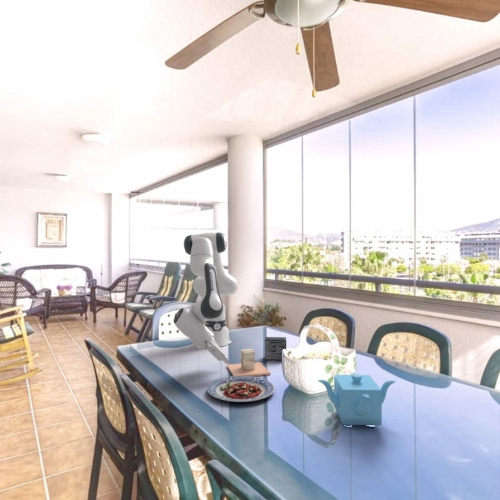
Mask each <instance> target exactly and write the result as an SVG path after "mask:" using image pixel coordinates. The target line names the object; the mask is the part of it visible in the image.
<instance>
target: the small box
mask: <svg viewBox="0 0 500 500" xmlns="http://www.w3.org/2000/svg"><path fill="white" fill-rule="evenodd" d="M264 342H265V343H264V355H265V357H264V360H265V361H266V360H267V362H268V361H273V362H275V361H278V362H282V361H281V360H282V350H283V349H286V350H287V337H286V336H285V337H284V336H283V337H282V336H265V338H264Z"/></svg>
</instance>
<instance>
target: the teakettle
mask: <svg viewBox="0 0 500 500" xmlns="http://www.w3.org/2000/svg"><path fill="white" fill-rule="evenodd" d="M317 382H319V383H321V384H322V385H324V387H325V388H326V392H327V395H328V398H329V401H330V402H331V403H332V404H333V407H334V409H335V410H336V414H337V415H338V418H339V420H340V422H341V425H342V426H343V425H346V426H351V425H353V426H366V425H375V426H382V413H383V412H382V407H383V405H382V404H384V402H385V400H386V396H387V393H388V389H389V388H390V386H391V385H393V384H395V383H396V382H397V381H396V380H386V381H384V382H383V384H382V385H381V387H380V386H379V385H378V384H377V383H376V381H375V380H374V379H373V378H372V376H370V374H357V373H355V374H334V375H333V387H332V384H331V383H330V382H329V381H328V380H325V379H318V380H317Z"/></svg>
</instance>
